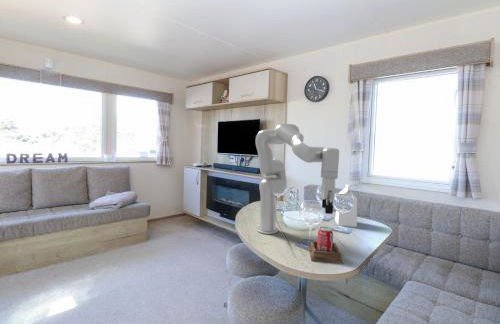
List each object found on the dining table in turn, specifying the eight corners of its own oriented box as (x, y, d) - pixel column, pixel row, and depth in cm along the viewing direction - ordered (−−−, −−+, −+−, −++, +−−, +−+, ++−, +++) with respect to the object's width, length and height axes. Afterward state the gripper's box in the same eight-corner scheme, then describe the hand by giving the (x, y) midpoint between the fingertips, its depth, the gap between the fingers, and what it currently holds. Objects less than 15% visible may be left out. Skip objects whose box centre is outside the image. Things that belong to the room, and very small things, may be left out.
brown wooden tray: (308, 248, 132) (308, 240, 132) (336, 250, 131) (337, 242, 130) (311, 260, 118) (311, 252, 118) (343, 263, 117) (343, 254, 116)
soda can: (329, 250, 128) (330, 226, 127) (334, 256, 121) (335, 231, 120) (314, 249, 128) (316, 226, 127) (319, 256, 121) (320, 231, 120)
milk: (356, 226, 168) (359, 187, 165) (338, 225, 170) (340, 186, 167) (352, 221, 180) (354, 184, 177) (335, 219, 181) (337, 183, 179)
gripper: (318, 171, 130) (316, 205, 132) (323, 176, 113) (321, 215, 115) (334, 172, 129) (331, 206, 131) (341, 177, 112) (339, 216, 114)
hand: (327, 210), depth 123 cm, fingers open, 9 cm apart
